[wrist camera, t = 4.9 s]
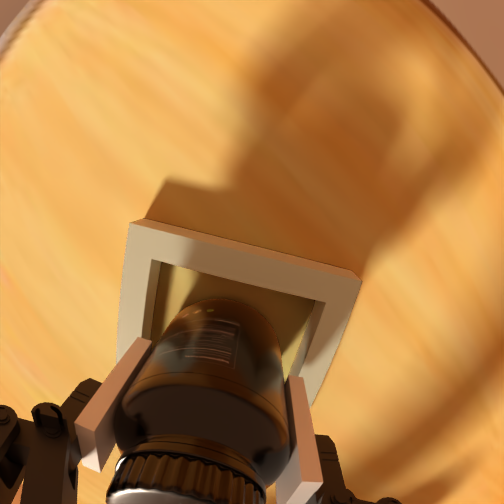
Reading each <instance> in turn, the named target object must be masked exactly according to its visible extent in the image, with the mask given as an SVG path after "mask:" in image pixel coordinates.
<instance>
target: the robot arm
mask: <svg viewBox="0 0 504 504" xmlns="http://www.w3.org/2000/svg"><path fill="white" fill-rule="evenodd" d="M151 346H152V341H150V340H147V339H143V338H140V337H137V339H136V340H135V341H134V342H133V344H132V345H131V346H130V348H129V349H128V350H127V352H126V353H125V354H124V356H123V357H122V358H121V359H120V361H119V362H118V363H117V365H116V366H115V367H114V369H113V370H112V371H111V373H110V374H109V375H108V377H107V378H106V379H105V381H104V382H103V383H100V382H98V381H96V380H93V379H91V378H89V379H87V380H85V381H83V382H81V383H80V384H79V385H78V386H77V387H76V389H75V390H74V391H73V392H72V393H71V395H70V397H68V398H67V399H66V401H65V402H64V403H63V404H62V406H61V407H59V406H58V405H56V404H53V403H47V402H44V403H40V404H38V405H36V406H34V408H33V409H32V411H31V413H32V416H33V420H34V422H32V421H28V420H24V419H21V418H18V417H17V414H16V413H15V411H14V410H13V409H12V408H10V407H8V406H6V405H0V504H11V503H12V501H13V499H14V497H15V495H16V493H17V491H18V489H19V487H20V485H21V483H22V481H23V479H24V482H23V489H22V494H21V502H20V504H77V487H78V467H77V465H78V463H79V462H80V460H81V459H82V463H83V466H86V467H88V468H90V469H92V470H95V471H97V472H99V473H101V471H102V469H103V467H104V465H105V463H106V461H107V459H108V457H109V455H110V453H111V452H112V450H113V448H114V446H115V444H116V440H115V435H114V416H115V411H116V409H117V406H118V404H119V402H120V401H121V399H122V397H123V395H124V394H125V392H126V390H127V389H128V387H129V386H130V384H131V383H132V381H133V379H134V378H135V376H136V375H137V373H138V372H139V370H140V368H141V367H142V365H143V364H144V362H145V361H146V359H147V358H148V356H149V354H150V353H151ZM285 393H286V401H287V410H288V419H289V428H290V440H291V451H290V457H289V460H288V463H287V465H286V467H285V469H284V471H283V472H282V474H281V475H280V476H279V478H278V479H277V480H276V504H402V503H400V502H399V501H398V500H396V499H394V498H389V497H386V498H382V499H380V500H379V501H378V502H377V503H373V502H368V501H363V500H359V499H357V498H355V496H354V494H353V493H352V492H351V491H350V490H348V489H346V487H345V484H344V480H343V476H342V472H341V468H340V463H339V462H338V460H339V459H338V455H337V451H336V447H335V444H334V442H333V441H332V440H331V439H330V437H329V436H327V435H316V434H314V429H313V424H312V419H311V414H310V409H309V404H308V399H307V394H306V389H305V384H304V379H303V377H297V376H292V375H288V378H287V380H286V383H285Z"/></svg>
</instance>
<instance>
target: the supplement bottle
mask: <svg viewBox="0 0 504 504" xmlns="http://www.w3.org/2000/svg"><path fill="white" fill-rule="evenodd" d="M114 435H115V440H116V443H117V446H118V449H119V451H120V453H121V456H120V458H119V460H118V462H117V464H116V467H115V475H114V477H113V479H112V481H111V483H110V485H109V488H108V490H107V493H106V503H107V504H266V489H267V488H268V487H269V486H271V485H272V484H273V483H274V482H275V481H276V480H277V479H278V478H279V476H280V475H281V474H282V472H283V471H284V469H285V467H286V465H287V463H288V460H289V457H290V451H291V440H290V428H289V419H288V410H287V401H286V393H285V384H284V376H283V367H282V359H281V352H280V346H279V342H278V339H277V336H276V333H275V331H274V330H273V328H272V326H271V325H270V323H269V322H268V321H267V320H266V319H265V318H264V317H263V316H262V315H261V314H260V313H259V312H257V311H256V310H254V309H253V308H251V307H249V306H247V305H245V304H243V303H240V302H237V301H233V300H228V299H208V300H203V301H199V302H197V303H194V304H192V305H190V306H188V307H186V308H185V309H183V310H182V311H181V312H180V313H179V314H177V315H176V316H175V318H174V319H173V320H172V321H171V323H170V324H169V326H168V327H167V328H166V330H165V332H164V333H163V335H162V336H161V338H160V339H159V341H158V342H157V344H156V345H155V347H154V348H153V350H152V351H151V353H150V354H149V356H148V358H147V359H146V361H145V362H144V364H143V365H142V367H141V368H140V370H139V372H138V373H137V375H136V376H135V378H134V379H133V381H132V383H131V384H130V386H129V387H128V389H127V390H126V392H125V394H124V395H123V397H122V399H121V401H120V402H119V404H118V406H117V409H116V411H115V416H114Z"/></svg>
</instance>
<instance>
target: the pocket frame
mask: <svg viewBox="0 0 504 504" xmlns="http://www.w3.org/2000/svg"><path fill="white" fill-rule="evenodd" d="M161 262H165V263H169V264H173V265H176V266H180V267H184V268H188V269H191V270H195V271H199V272H203V273H207V274H210V275H214V276H218V277H222V278H226V279H230V280H234V281H238V282H242V283H246V284H250V285H254V286H258V287H262V288H266V289H271V290H275V291H279V292H283V293H287V294H292V295H296V296H300V297H304V298H309V299H313V300H316V301H315V304H314V307H313V310H312V313H311V315H310V318H309V321H308V324H307V327H306V330H305V332H304V335H303V338H302V341H301V344H300V346H299V349H298V352H297V354H296V357H295V360H294V362H293V365H292V368H291V370H290V373H289V375H292V376H297V377H303V379H304V384H305V389H306V394H307V399H308V404H309V409H310V407H311V405H312V403H313V401H314V399H315V397H316V395H317V392H318V390H319V388H320V386H321V384H322V382H323V379H324V377H325V375H326V373H327V370H328V368H329V366H330V364H331V361H332V359H333V357H334V354H335V352H336V350H337V347H338V345H339V342H340V340H341V337H342V335H343V332H344V330H345V327H346V325H347V322H348V320H349V317H350V314H351V312H352V309H353V306H354V304H355V301H356V298H357V295H358V293H359V290H360V287H361V284H362V281H361V280H360V279H359V278H358V277H357V276H356V275H355V273H354V272H353V271H351V270H347V269H344V268H340V267H336V266H332V265H328V264H324V263H320V262H316V261H312V260H308V259H304V258H301V257H297V256H293V255H289V254H285V253H281V252H277V251H273V250H269V249H265V248H261V247H257V246H253V245H249V244H245V243H241V242H237V241H233V240H229V239H225V238H221V237H217V236H213V235H209V234H205V233H201V232H197V231H193V230H189V229H185V228H181V227H177V226H173V225H169V224H165V223H161V222H157V221H153V220H149V219H145V218H143V219H140V220H137V221H134V222H131V223H129V229H128V236H127V242H126V249H125V257H124V264H123V273H122V282H121V291H120V302H119V314H118V329H117V349H116V365H117V363H118V362H119V361H120V359H121V358H122V357H123V356H124V354H125V353H126V352H127V350H128V349H129V348H130V346H131V345H132V344H133V342H134V341H135V340H136V339H137V337H140V338H143V339H147V340H150V338H151V329H152V321H153V314H154V306H155V299H156V292H157V286H158V279H159V273H160V267H161Z"/></svg>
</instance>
